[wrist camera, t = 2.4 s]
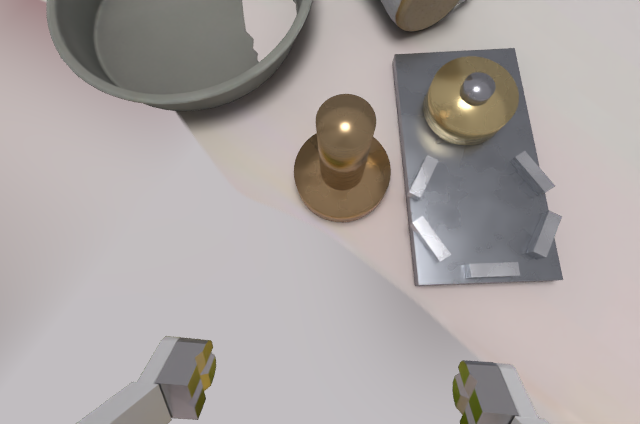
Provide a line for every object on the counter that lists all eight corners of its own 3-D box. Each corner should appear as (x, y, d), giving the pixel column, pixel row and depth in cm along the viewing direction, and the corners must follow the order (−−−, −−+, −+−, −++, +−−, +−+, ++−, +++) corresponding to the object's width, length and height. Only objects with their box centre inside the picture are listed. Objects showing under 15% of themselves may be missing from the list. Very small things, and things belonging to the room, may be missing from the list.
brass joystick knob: (297, 224, 29) (279, 187, 19) (295, 139, 31) (279, 66, 21) (390, 220, 29) (420, 181, 19) (383, 135, 30) (406, 59, 21)
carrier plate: (411, 285, 27) (427, 283, 23) (389, 63, 32) (399, 26, 28) (556, 280, 27) (601, 277, 22) (510, 57, 32) (539, 18, 27)
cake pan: (185, 179, 30) (160, 159, 26) (35, 29, 35) (-8, -9, 31) (365, 13, 34) (370, -29, 30) (208, -102, 39) (192, -153, 35)
